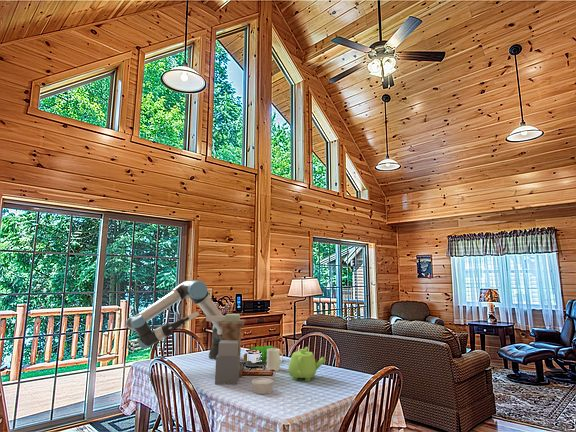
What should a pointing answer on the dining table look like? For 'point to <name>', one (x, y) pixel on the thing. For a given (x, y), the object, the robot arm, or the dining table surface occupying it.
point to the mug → (274, 358)
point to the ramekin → (262, 385)
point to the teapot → (304, 364)
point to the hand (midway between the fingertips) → (196, 314)
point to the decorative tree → (262, 349)
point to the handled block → (224, 318)
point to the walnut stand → (233, 334)
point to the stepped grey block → (227, 362)
